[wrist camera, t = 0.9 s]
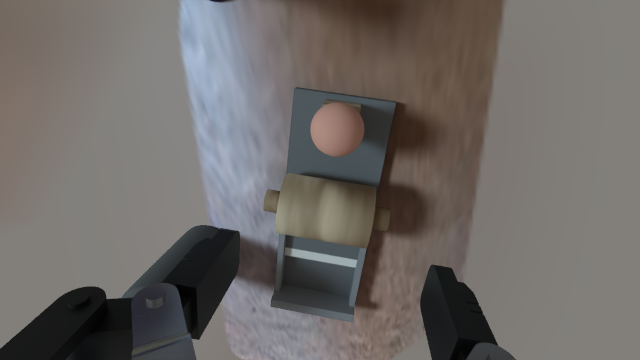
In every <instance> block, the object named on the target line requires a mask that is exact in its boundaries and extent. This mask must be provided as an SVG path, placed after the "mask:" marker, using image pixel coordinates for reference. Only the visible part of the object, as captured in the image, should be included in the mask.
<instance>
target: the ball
mask: <svg viewBox="0 0 640 360" xmlns="http://www.w3.org/2000/svg"><path fill="white" fill-rule="evenodd" d="M310 131H311V137H312V140H313V142H314V144H315V146H316V147H317V148H318V149H319V150H320V151H321V152H323V153H325V154H327V155H329V156H334V157H340V156H345V155H348V154H350V153H352V152H353V151H354V150H355V149H356V148H357V147H358V146H359V145H360V143H361V141H362V139H363V136H364V123H363V119H362V117H361V115H360V114H359V112H358V111H357V110H356V109H355V108H353V107H352V106H350V105H348V104H346V103H342V102H334V103H330V104H327V105H325V106H323V107H322V108H320V109H319V110H318V111H317V112H316V114H315V115H314V117H313V119H312V122H311V128H310Z"/></svg>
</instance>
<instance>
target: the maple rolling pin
mask: <svg viewBox="0 0 640 360" xmlns="http://www.w3.org/2000/svg"><path fill="white" fill-rule="evenodd" d="M375 205H376V187H372V186H366V185H360V184H354V183H348V182H341V181H335V180H329V179H323V178H317V177H310V176H304V175H298V174H292V173H287V174H286V176H285V178H284V181H283V184H282V187H281V191H275V190H269V189H268V190H267V192H266V195H265V199H264V211H269V212H275V213H276V232H277V233H279V234H285V235H290V236H296V237H302V238H307V239H313V240H319V241H325V242H330V243H336V244H342V245H347V246H353V247H359V248H365V249H366V248H367V246H368V243H369V240H370V236H371V231H372V229H374V230H380V231H386V232H387V230H388V227H389V222H390V210H389V209H383V208H377V207H375Z"/></svg>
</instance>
